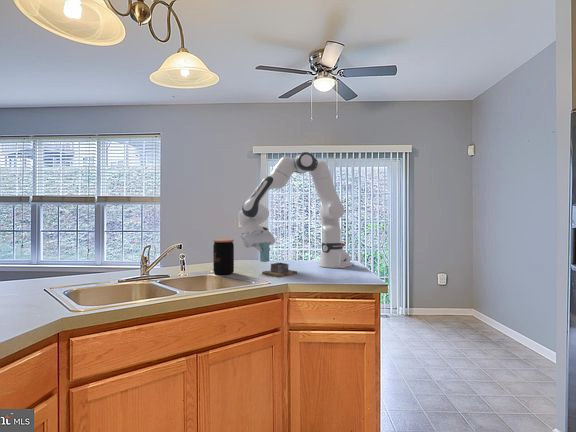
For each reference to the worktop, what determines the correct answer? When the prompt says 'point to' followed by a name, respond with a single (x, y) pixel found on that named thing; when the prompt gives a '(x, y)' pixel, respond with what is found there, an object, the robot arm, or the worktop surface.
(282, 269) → the wooden block on base
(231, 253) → the coffee jar
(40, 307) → the worktop surface
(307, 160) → the robot arm
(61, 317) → the worktop surface
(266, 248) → the post
